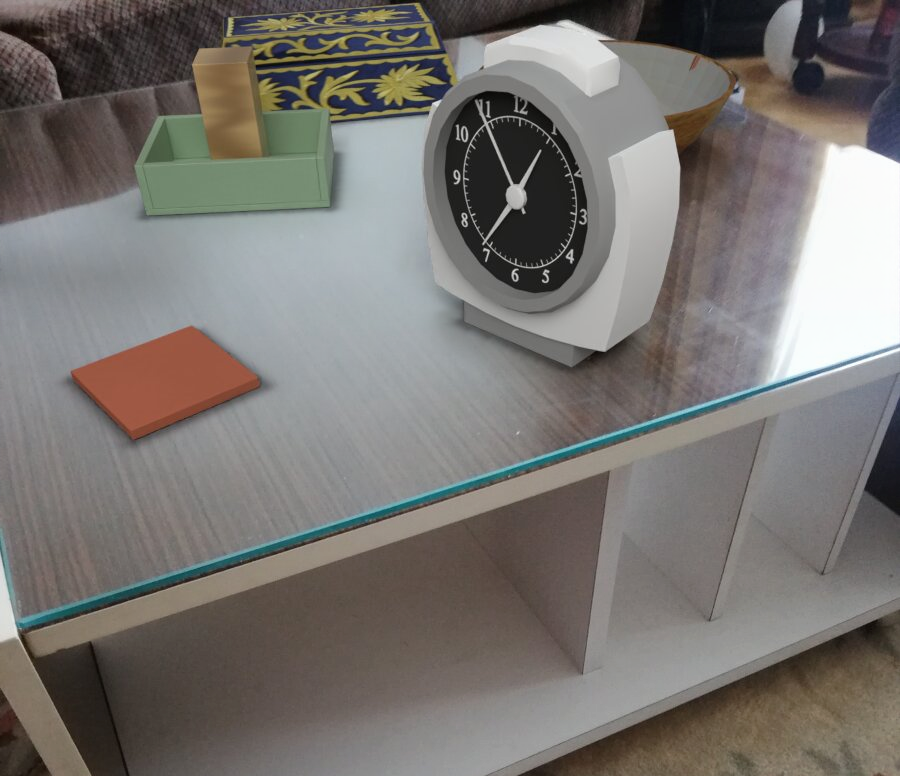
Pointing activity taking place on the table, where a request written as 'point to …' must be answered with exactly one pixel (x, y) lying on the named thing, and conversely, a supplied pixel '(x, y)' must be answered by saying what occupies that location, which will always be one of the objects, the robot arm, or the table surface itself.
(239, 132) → the block
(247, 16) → the decorative box
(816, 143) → the table surface
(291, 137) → the bin
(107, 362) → the mat
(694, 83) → the bowl
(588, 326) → the alarm clock
